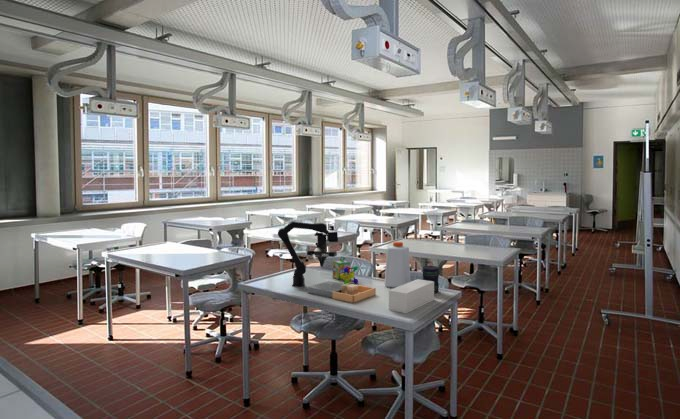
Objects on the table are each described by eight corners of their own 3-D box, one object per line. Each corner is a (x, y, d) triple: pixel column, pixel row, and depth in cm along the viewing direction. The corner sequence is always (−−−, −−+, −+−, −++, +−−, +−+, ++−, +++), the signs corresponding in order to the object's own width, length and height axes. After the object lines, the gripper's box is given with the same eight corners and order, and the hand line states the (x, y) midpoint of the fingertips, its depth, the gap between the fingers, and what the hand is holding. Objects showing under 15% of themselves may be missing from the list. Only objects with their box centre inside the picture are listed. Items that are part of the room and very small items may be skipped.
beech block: (341, 285, 274) (352, 287, 270) (347, 283, 279) (358, 285, 274) (341, 295, 275) (352, 297, 270) (347, 293, 280) (358, 295, 275)
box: (332, 298, 269) (332, 291, 269) (355, 290, 286) (355, 284, 286) (353, 303, 260) (353, 296, 259) (375, 294, 277) (375, 288, 277)
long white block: (417, 297, 273) (417, 279, 272) (433, 300, 266) (434, 281, 265) (388, 310, 247) (388, 290, 246) (406, 313, 241) (406, 293, 240)
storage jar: (438, 294, 278) (439, 269, 277) (422, 293, 280) (422, 268, 279) (438, 289, 288) (438, 266, 287) (422, 289, 290) (422, 265, 289)
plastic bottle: (412, 284, 303) (412, 241, 301) (405, 289, 290) (406, 244, 287) (390, 281, 310) (390, 240, 307) (382, 286, 296) (382, 243, 294)
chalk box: (332, 277, 323) (332, 256, 321) (343, 276, 327) (343, 255, 326) (338, 280, 315) (338, 258, 313) (350, 278, 319) (350, 257, 318)
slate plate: (307, 292, 282) (307, 286, 282) (328, 286, 298) (328, 280, 298) (333, 298, 270) (333, 292, 270) (353, 291, 286) (353, 285, 285)
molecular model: (346, 286, 298) (346, 268, 297) (338, 284, 303) (339, 266, 303) (359, 283, 305) (359, 266, 305) (352, 281, 311) (352, 264, 310)
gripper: (303, 243, 295) (303, 268, 296) (331, 245, 289) (331, 269, 290) (310, 241, 305) (310, 264, 307) (337, 242, 300) (337, 266, 301)
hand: (321, 266), depth 301 cm, fingers closed
